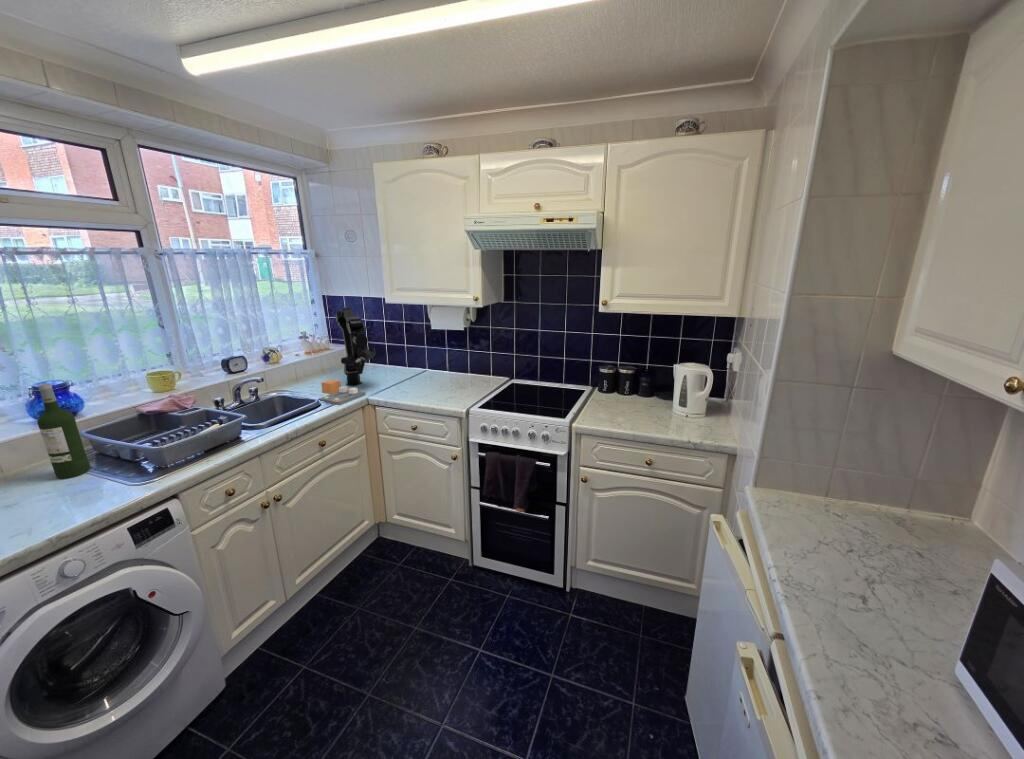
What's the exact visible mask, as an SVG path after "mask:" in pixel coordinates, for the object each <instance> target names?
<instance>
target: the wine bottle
mask: <svg viewBox="0 0 1024 759" xmlns="http://www.w3.org/2000/svg"><path fill="white" fill-rule="evenodd" d="M38 390H39V392H40V396H41V399H42V403H43V406H44V407H43V408H44V412H43V413H42V414H41V415H40V417H39V418H38V420H37V421H36V422H37V426H38V430H39V432H40V434H41V438H42V440H43V443H44V445H45V446H44V447H45V449H46V453H47V455H48V457H49V461H50V463H51V466H52V469H53V473H54V475H55V477H56V478H57V479H60V480H66V479H73V478H75V477H79V476H82V475H85V474H86V472H87V471H88V470H89V469H90V467H91V465H90V461H89V458H88V455H87V450H86V449H85V446H84V443H83V440H82V437H81V433H80V431H79V427H78V424H77V421H76V419H75V418H76V417H75V416H74V414H73V412H71V411H69V410H65V409H62V408H61V407H60V405H59V403H58V399H57V397H56V395H55V392H54V389H53V385H51V383H44V384H40V385H38ZM90 470H91V469H90ZM90 470H89V471H90ZM89 471H88V472H89ZM88 472H87V473H88ZM84 473H85V474H84Z"/></svg>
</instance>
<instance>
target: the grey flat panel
mask: <svg viewBox="0 0 1024 759" xmlns="http://www.w3.org/2000/svg"><path fill="white" fill-rule="evenodd" d="M366 395H367V394H366V392H365V391H360V390H358V393H356V394H349V390H348V391H347V392H345V393H341V392H339V391H338V392H336V393H333V394H327V395H324V396H322V397H319V398H317V401H318V400H320V401H324V402H326V403H325V404H329V403H330V404H331V405H335V406H336V405H338V406H343V405H344V403H345V404H347V403H349V402H351V401H354V400H357V399H359V398H362V397H365V396H366Z"/></svg>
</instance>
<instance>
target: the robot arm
mask: <svg viewBox="0 0 1024 759" xmlns="http://www.w3.org/2000/svg"><path fill="white" fill-rule="evenodd" d="M335 322H336V323H337V326H338V327H339V329H340V330H341V331H342V337H343V341H344V342H343V343H344V347H345V353H346V356H345V357H344V356H343V357H341V358H340V361H341V362H340V364H343V365H344V366H343V373H344V375H345V376H346V381H347V382H346V383H345V385H346V386H352V387H355V386H358V385H361V384H362V385H363V381H361V375H362V374H363V372H364V368H365V365H366V363H367V362H368V361H370V360H371V359H374V358H376V357H377V354H376V352H377V351H376V349H375V348H374V347H372V348H367V344H369V343H368V342H369V340H368V338H367V337H366V336H365V335H364V334H366V333H367V327H366V324H365V322H364V320H363V319H362V318H361V317H360V316H356V315H355V313H354V312H353V310H352V307H342V308H340V310H339V311H337V312H336V314H335Z"/></svg>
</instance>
